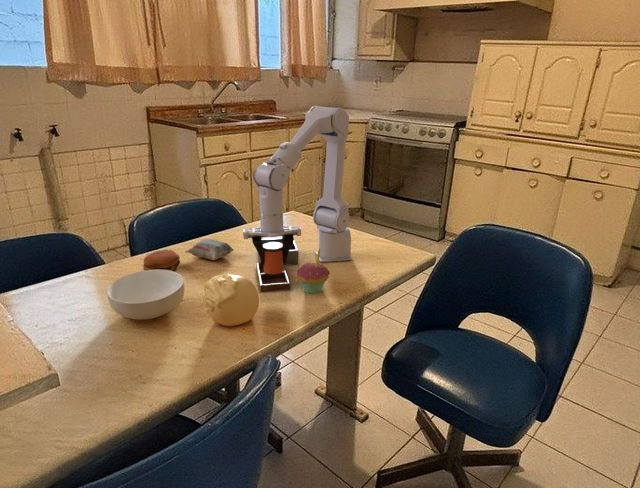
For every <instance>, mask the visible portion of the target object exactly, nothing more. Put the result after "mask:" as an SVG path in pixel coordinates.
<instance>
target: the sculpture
mask: <svg viewBox="0 0 640 488" xmlns="http://www.w3.org/2000/svg"><path fill="white" fill-rule="evenodd" d="M203 290H204V295H203V300H204V305H205V307H206V313H207V314H208V316H209V318H210V319H212V320H213V321H214V323H218V324H219V325H222V326H223V327H224V326H225V327H234V326H239V325H242V324H245V323H248V322H250V320H252V319H253V318H254V317H255V316H256V315H257V313H258V309H259V306H260V296H259V292H258V289H257V287H256V285H255V284H254V283H253V282H252V280H250V279H249V278H248V277H245V276H243V275H239V274H231V273H229V272H226V273H224V274H219V275H214V276H212V277H210V279H209V280H207V281H205V283H204V285H203Z"/></svg>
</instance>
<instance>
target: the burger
mask: <svg viewBox="0 0 640 488" xmlns="http://www.w3.org/2000/svg"><path fill="white" fill-rule="evenodd" d="M180 259H181V256H180V254H178V253H177V252H175V251H174V250H172V249H161V250H156V251H153V252H150V253H148V254H147V255H146V256H145V257H144V259H143V271H146V270H169V271H174V270H175V269H177V268H178V267H179V265H180V264H181V261H180Z"/></svg>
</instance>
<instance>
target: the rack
mask: <svg viewBox="0 0 640 488" xmlns="http://www.w3.org/2000/svg"><path fill="white" fill-rule="evenodd" d="M256 273H257V278H258V284H259V290H260V293H265V292H277V291H288V290H290V289H291V283H290V279H289V277H288V274H287V273H288V272H287V270H286V267H285V266H284V271H283V272H282V273H279V274H267V273H265V272H264V265H261V263H260V262H257V263H256Z"/></svg>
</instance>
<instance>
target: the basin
mask: <svg viewBox="0 0 640 488" xmlns="http://www.w3.org/2000/svg"><path fill="white" fill-rule="evenodd" d="M262 242H263V245H264V244H265V243H268V242H279V243H282V244H283V240H282V237H278V238H277V237H273V238H262ZM257 255H258V259H259V263H261V260H260V257H259V254H258V253H257ZM296 265H299V248H298V246H297V244H296V242H295V240H294V242H293V244H292V246H291V248H290V250H289V253H288V256H287V261H286V263H284V266H296Z"/></svg>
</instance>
